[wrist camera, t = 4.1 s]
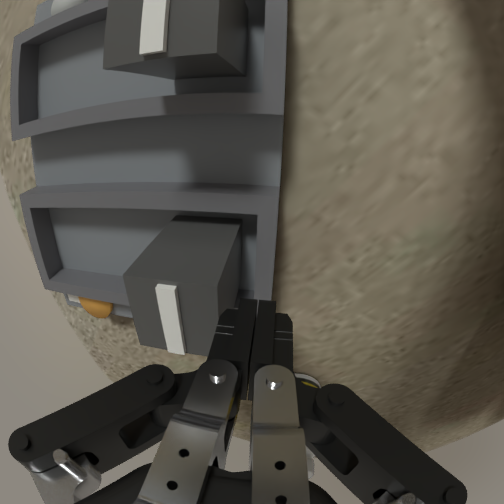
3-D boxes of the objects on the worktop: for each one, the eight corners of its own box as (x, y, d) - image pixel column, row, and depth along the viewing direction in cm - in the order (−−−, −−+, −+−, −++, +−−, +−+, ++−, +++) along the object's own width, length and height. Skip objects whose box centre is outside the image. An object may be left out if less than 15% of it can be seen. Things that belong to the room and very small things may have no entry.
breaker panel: (288, -42, 11) (287, -72, 7) (269, 320, 23) (265, 357, 19) (53, 6, 12) (20, 0, 9) (79, 293, 24) (56, 319, 21)
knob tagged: (242, 218, 17) (215, 290, 11) (241, 278, 19) (219, 362, 12) (175, 215, 17) (119, 278, 11) (181, 272, 19) (138, 348, 13)
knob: (248, 10, 11) (220, -52, 5) (246, 76, 13) (214, 51, 7) (175, 16, 12) (108, -27, 5) (172, 79, 13) (97, 68, 7)
